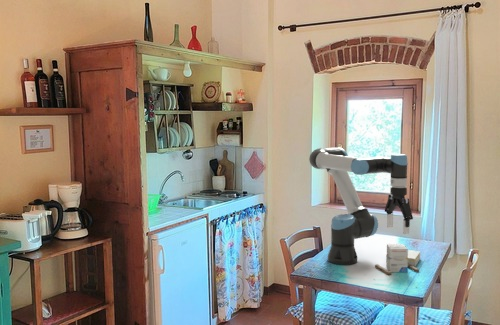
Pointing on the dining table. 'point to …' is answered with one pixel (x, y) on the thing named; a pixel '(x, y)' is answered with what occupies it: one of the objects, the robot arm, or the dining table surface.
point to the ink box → (397, 258)
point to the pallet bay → (390, 272)
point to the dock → (412, 257)
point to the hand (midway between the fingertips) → (397, 230)
